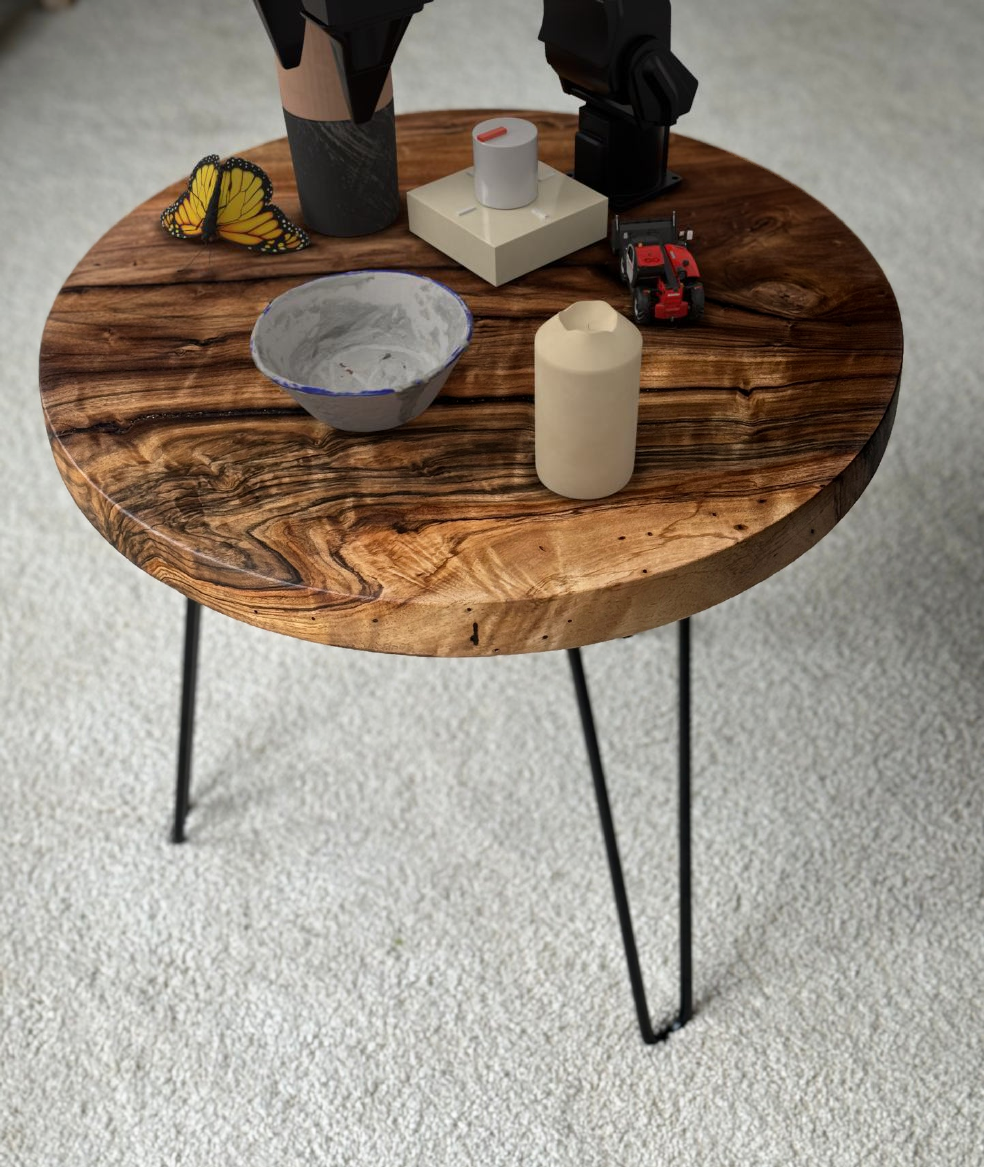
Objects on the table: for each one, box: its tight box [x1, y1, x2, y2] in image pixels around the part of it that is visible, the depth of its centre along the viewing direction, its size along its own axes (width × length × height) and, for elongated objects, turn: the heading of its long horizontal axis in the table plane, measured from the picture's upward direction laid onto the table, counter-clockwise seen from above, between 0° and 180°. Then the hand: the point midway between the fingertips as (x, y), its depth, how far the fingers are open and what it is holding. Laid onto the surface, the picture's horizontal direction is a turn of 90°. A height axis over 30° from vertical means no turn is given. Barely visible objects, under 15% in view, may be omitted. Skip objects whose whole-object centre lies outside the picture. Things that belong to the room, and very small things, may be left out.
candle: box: [534, 300, 644, 500], centre depth 66 cm, size 6×6×10 cm
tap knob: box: [471, 116, 539, 209], centre depth 84 cm, size 4×4×5 cm
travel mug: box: [273, 19, 400, 238], centre depth 83 cm, size 8×8×20 cm
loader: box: [608, 210, 705, 325], centre depth 80 cm, size 12×5×5 cm, turn 5°
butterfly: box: [159, 153, 310, 278], centre depth 86 cm, size 12×9×5 cm
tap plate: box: [406, 159, 609, 288], centre depth 86 cm, size 10×10×3 cm
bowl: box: [249, 269, 475, 433], centre depth 73 cm, size 13×13×5 cm
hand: (325, 94), depth 72 cm, fingers open, 9 cm apart
